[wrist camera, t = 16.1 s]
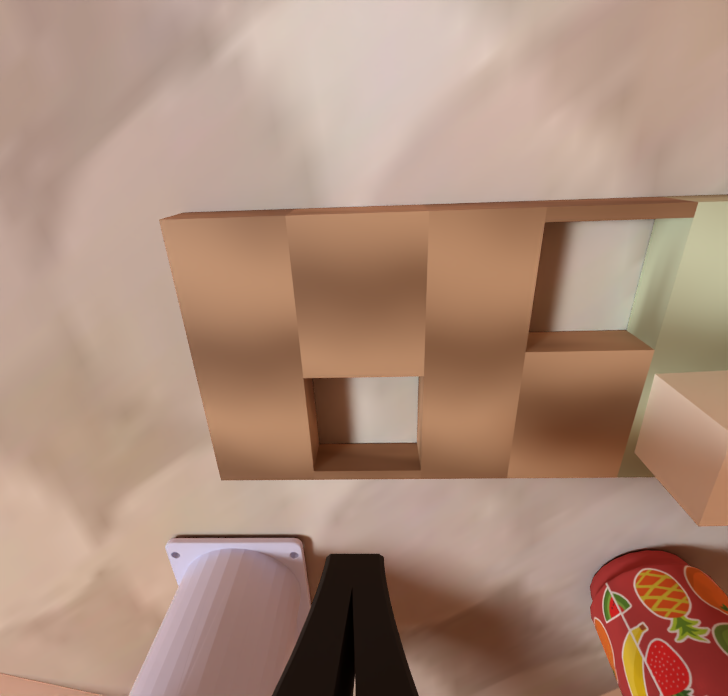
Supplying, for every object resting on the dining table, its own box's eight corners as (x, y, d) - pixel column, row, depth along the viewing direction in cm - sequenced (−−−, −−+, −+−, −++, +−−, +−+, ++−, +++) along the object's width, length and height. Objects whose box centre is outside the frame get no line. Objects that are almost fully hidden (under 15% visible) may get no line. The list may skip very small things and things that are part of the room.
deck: (718, 447, 20) (803, 520, 16) (234, 452, 21) (201, 522, 17) (825, 191, 15) (988, 203, 11) (183, 212, 16) (118, 231, 12)
